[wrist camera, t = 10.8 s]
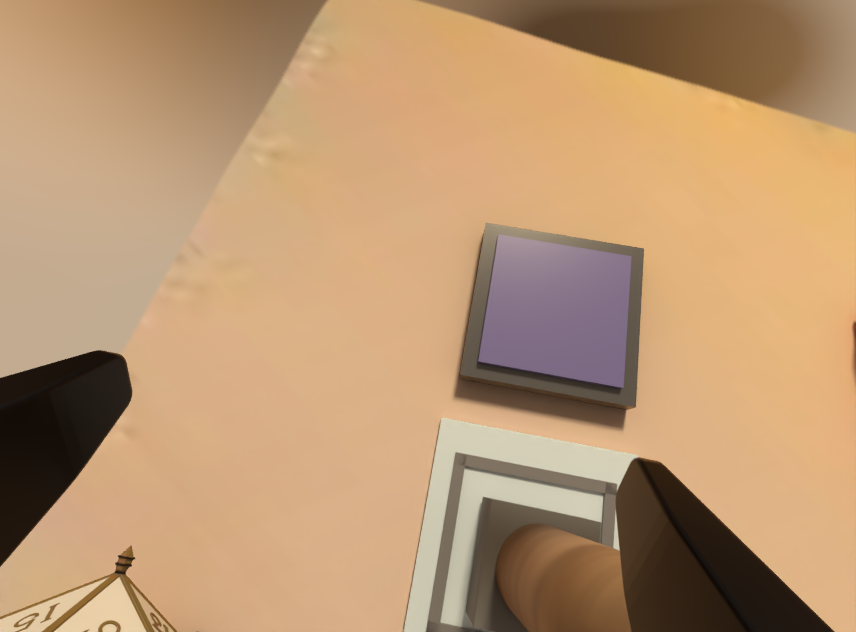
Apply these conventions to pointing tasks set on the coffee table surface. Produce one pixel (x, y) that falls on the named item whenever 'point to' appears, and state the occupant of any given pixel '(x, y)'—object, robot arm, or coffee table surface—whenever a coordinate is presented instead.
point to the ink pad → (556, 316)
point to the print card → (507, 481)
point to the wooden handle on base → (543, 573)
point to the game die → (92, 608)
